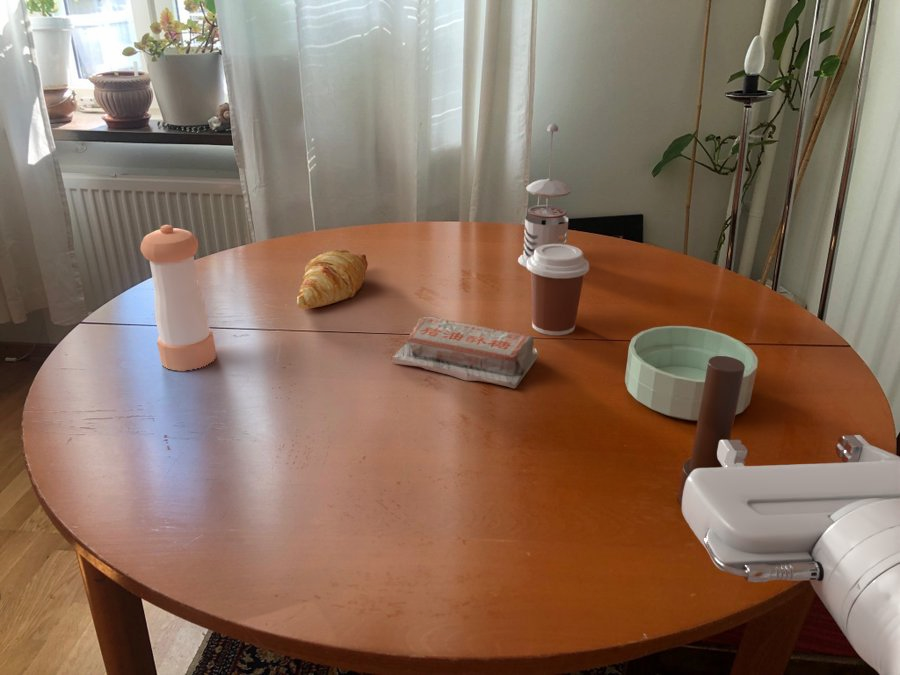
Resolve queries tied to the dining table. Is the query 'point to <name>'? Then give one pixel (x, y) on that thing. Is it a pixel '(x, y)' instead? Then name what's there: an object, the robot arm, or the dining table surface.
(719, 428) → the brown tall cylinder
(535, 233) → the french press
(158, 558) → the dining table surface
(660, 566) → the dining table surface
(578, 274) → the coffee cup
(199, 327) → the pepper shaker
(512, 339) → the packaged product
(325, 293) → the croissant
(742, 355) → the bowl
